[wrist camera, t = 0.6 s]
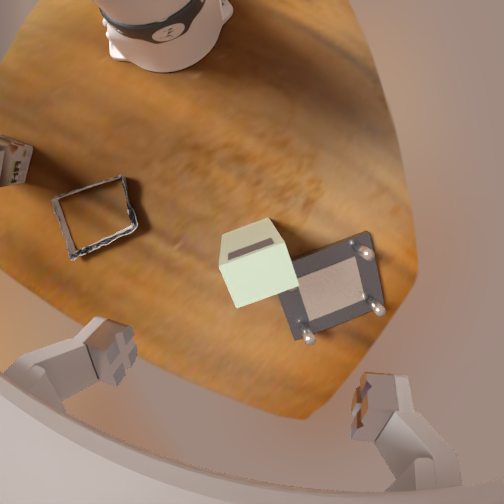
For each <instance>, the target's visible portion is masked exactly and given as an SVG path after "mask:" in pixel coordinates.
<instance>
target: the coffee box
mask: <svg viewBox="0 0 504 504" xmlns="http://www.w3.org/2000/svg"><path fill="white" fill-rule="evenodd" d="M32 152H33V147H32V146H30V145H27V144H24V143H22V142H19V141H16V140H13V139H11V138H8V137H5V136H3V135H0V187H4V186H9V185H15V184H20V183H24V182H25V180H26V175H27V171H28V167H29V163H30V159H31V156H32Z"/></svg>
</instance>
